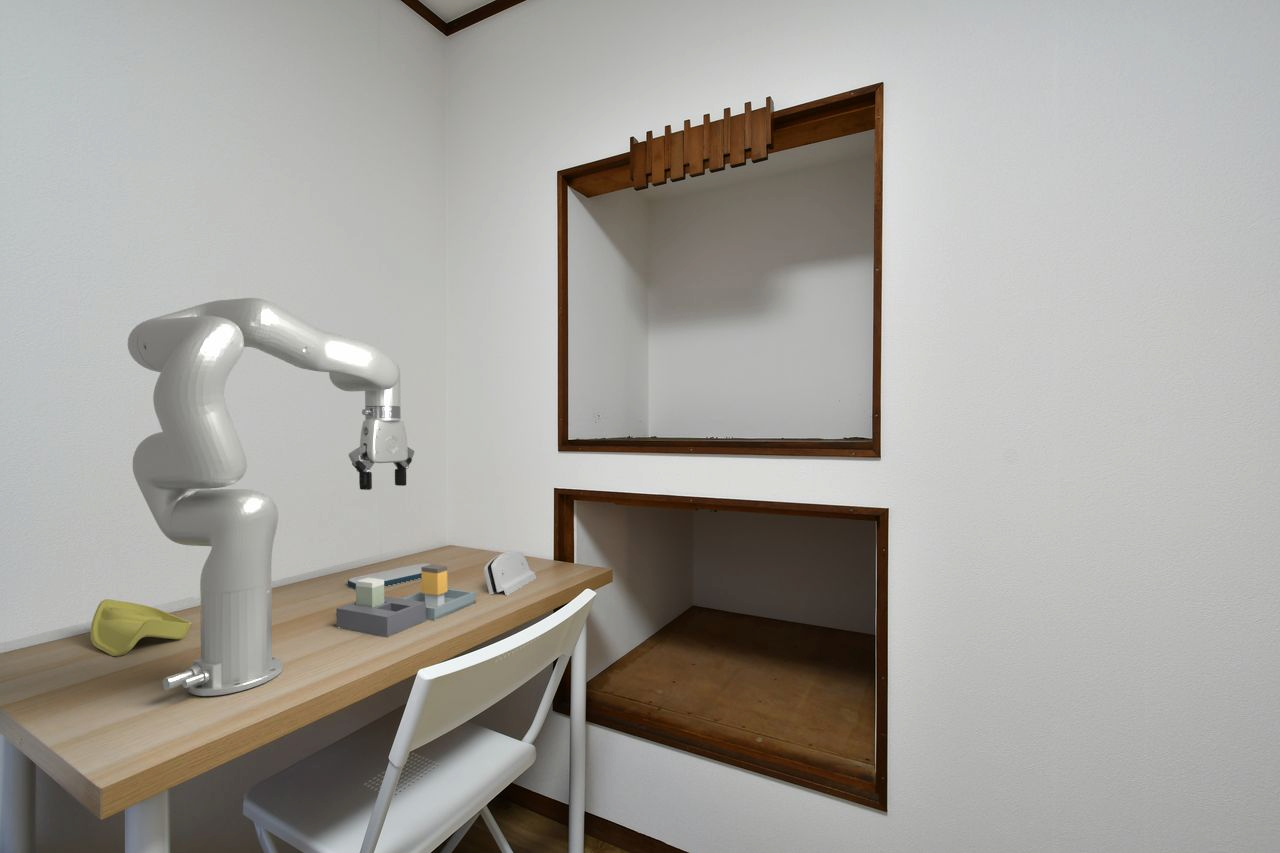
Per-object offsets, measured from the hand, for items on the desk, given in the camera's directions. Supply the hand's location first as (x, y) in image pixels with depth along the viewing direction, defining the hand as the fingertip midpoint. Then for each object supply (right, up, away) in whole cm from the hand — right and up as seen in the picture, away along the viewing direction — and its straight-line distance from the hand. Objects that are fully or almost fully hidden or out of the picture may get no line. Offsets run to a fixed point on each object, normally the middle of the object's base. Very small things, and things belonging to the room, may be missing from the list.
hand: (383, 487), depth 126 cm
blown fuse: (+12, -28, -1) cm, 30 cm away
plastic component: (-41, -29, -17) cm, 54 cm away
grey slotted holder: (+26, -29, +17) cm, 42 cm away
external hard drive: (-9, -30, +26) cm, 40 cm away
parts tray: (+12, -28, -1) cm, 31 cm away
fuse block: (+5, -28, -11) cm, 31 cm away
